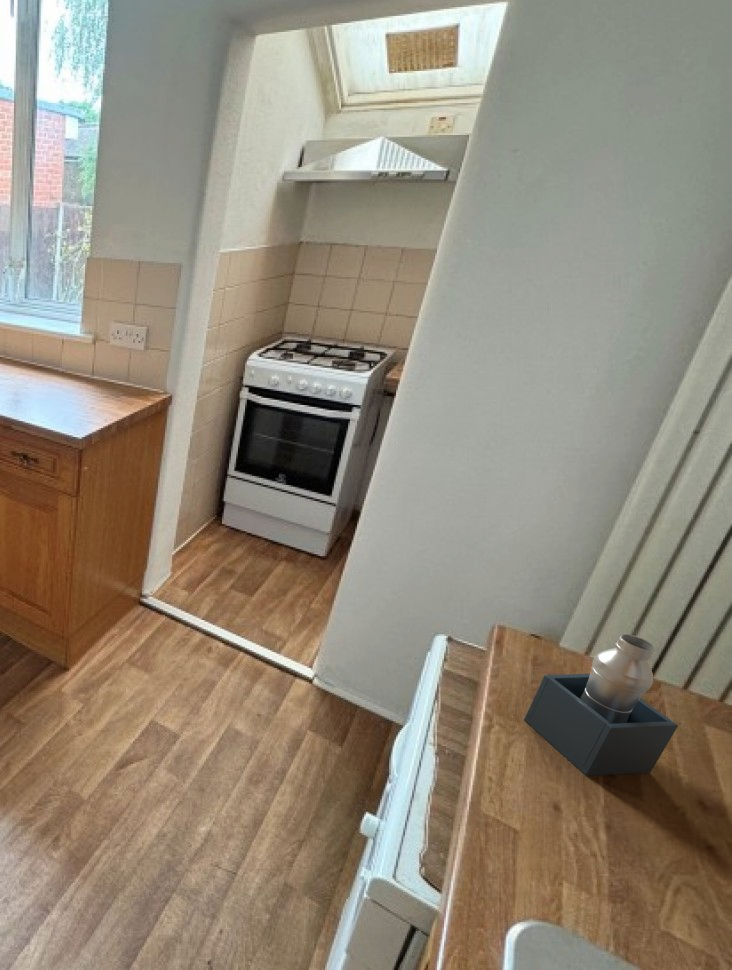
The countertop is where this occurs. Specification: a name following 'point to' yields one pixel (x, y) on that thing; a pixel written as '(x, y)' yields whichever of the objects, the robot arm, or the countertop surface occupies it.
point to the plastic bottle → (619, 678)
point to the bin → (597, 729)
